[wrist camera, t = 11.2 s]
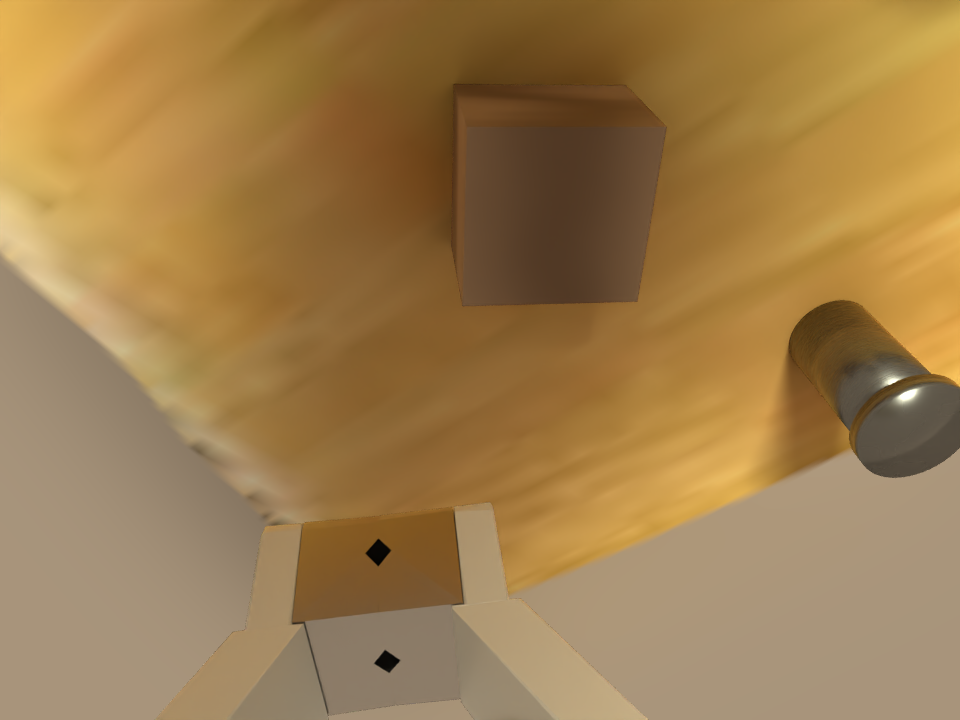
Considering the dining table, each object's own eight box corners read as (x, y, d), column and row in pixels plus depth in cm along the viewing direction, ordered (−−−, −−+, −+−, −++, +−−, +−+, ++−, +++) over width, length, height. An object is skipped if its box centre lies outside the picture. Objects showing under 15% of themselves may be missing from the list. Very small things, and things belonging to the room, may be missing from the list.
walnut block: (451, 243, 25) (462, 306, 22) (453, 82, 22) (467, 126, 19) (603, 241, 26) (637, 301, 22) (624, 84, 23) (666, 126, 20)
